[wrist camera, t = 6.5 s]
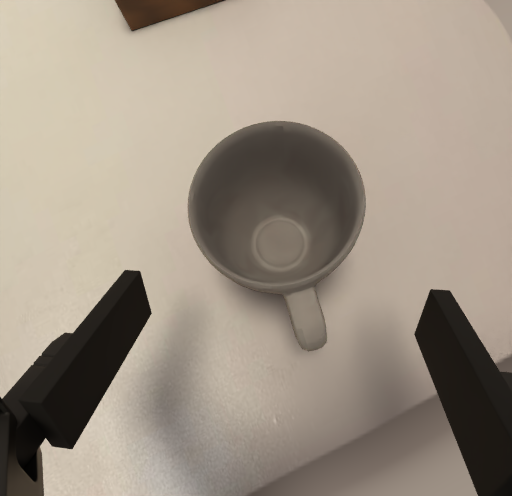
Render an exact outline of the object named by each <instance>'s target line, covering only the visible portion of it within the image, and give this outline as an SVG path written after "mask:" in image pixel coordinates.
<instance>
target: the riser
mask: <svg viewBox="0 0 512 496" xmlns="http://www.w3.org/2000/svg"><path fill="white" fill-rule="evenodd" d="M115 1H116V3H117V5H118V7H119V9H120V10H121V12H122V14H123V16H124V18H125V20H126V21H127V23H128V25H129V27H130V29H131V30H135V29H138V28H141V27H145V26H148V25H151V24H154V23H157V22H160V21H163V20H166V19H169V18H172V17H175V16H178V15H181V14H184V13H187V12H190V11H193V10H196V9H199V8H202V7H205V6H208V5H211V4H214V3H217V2H220V1H223V0H115Z"/></svg>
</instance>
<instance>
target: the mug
mask: <svg viewBox="0 0 512 496" xmlns="http://www.w3.org/2000/svg"><path fill="white" fill-rule="evenodd" d="M365 208H366V198H365V190H364V185H363V181H362V178H361V175H360V172H359V170H358V168H357V166H356V164H355V163H354V161H353V159H352V158H351V157H350V155H349V154H348V153H347V151H346V150H345V149H344V148H343V147H342V146H341V145H340V144H339V143H338V142H337V141H335V140H334V139H333V138H331V137H330V136H328V135H327V134H325V133H323V132H321V131H319V130H317V129H315V128H312V127H310V126H307V125H303V124H300V123H295V122H287V121H271V122H263V123H258V124H254V125H251V126H248V127H245V128H243V129H240V130H238V131H236V132H234V133H233V134H231V135H229V136H228V137H226V138H225V139H223V140H222V141H221V142H220V143H218V144H217V145H216V146H215V147H214V148H213V149H212V150H211V151H210V152H209V153H208V154H207V156H206V157H205V158H204V160H203V161H202V162H201V164H200V166H199V167H198V169H197V171H196V173H195V175H194V178H193V181H192V183H191V187H190V191H189V197H188V218H189V224H190V228H191V231H192V234H193V237H194V239H195V241H196V243H197V245H198V247H199V249H200V250H201V252H202V253H203V255H204V256H205V257H206V258H207V260H208V261H209V262H210V263H211V264H212V265H213V266H214V267H215V268H216V269H217V270H218V271H219V272H220V273H222V274H223V275H224V276H226V277H227V278H229V279H231V280H232V281H234V282H236V283H238V284H240V285H242V286H244V287H247V288H249V289H252V290H256V291H260V292H265V293H275V294H281V295H283V296H284V298H285V302H286V305H287V309H288V312H289V316H290V319H291V323H292V326H293V330H294V333H295V335H296V338H297V340H298V342H299V344H300V346H301V348H302V349H304V350H307V351H312V350H316V349H319V348H322V347H323V346H324V345H325V343H326V341H327V334H326V325H325V320H324V316H323V313H322V310H321V307H320V304H319V301H318V297H317V294H316V291H315V285H316V284H317V283H318V282H320V281H321V280H322V279H324V278H325V277H326V276H328V275H329V274H330V273H331V272H332V271H333V270H335V269H336V268H337V267H338V266H339V265H340V264H341V262H342V261H343V260H344V259H345V258H346V257H347V255H348V254H349V253H350V251H351V250H352V248H353V246H354V245H355V242H356V240H357V238H358V236H359V233H360V231H361V228H362V225H363V221H364V216H365Z"/></svg>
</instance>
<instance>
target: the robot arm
mask: <svg viewBox="0 0 512 496" xmlns="http://www.w3.org/2000/svg"><path fill="white" fill-rule="evenodd" d="M151 314H152V313H151V309H150V305H149V302H148V298H147V294H146V291H145V287H144V284H143V280H142V276H141V273H140V271H131V270H125V271H124V272H123V273H122V274H121V276H120V277H119V278H118V279H117V280H116V282H115V283H114V284H113V285H112V287H111V288H110V289H109V290H108V291H107V293H106V294H105V295H104V296H103V297H102V299H101V300H100V301H99V302H98V304H97V305H96V306H95V307H94V308H93V310H92V311H91V312H90V313H89V314H88V316H87V317H86V318H85V319H84V321H83V322H82V323H81V324H80V325H79V327H78V328H77V329H76V330H75V331H74V333H64V334H63V335H61V336H60V337H58V338H57V339H56V340H54V341H53V342H52V343H51V344H50V345H49V346H48V347H47V348H46V349H45V351H44V352H43V353H42V355H41V356H39V357H38V359H37V360H36V361H35V362H34V365H31V367H30V368H29V369H28V370H27V371H26V372H25V373H24V375H23V376H22V377H21V378H20V379H19V380H18V382H17V383H16V384H15V385H14V386H13V387H12V388H11V390H10V391H9V392H8V393H7V394H6V395H5V396H4V398H3V399H1V397H0V496H44V488H43V466H42V452H41V449H40V445H41V444H42V442H43V441H44V439H45V438H46V439H47V440H48V441H49V443H50V444H51V445H52V446H53V447H60V448H67V449H73V447H74V445H75V444H76V442H77V440H78V439H79V437H80V435H81V434H82V432H83V430H84V428H85V427H86V425H87V423H88V422H89V420H90V418H91V416H92V415H93V413H94V411H95V410H96V408H97V406H98V404H99V403H100V401H101V399H102V398H103V396H104V394H105V392H106V391H107V389H108V387H109V386H110V384H111V382H112V380H113V379H114V377H115V375H116V374H117V372H118V370H119V368H120V367H121V365H122V363H123V362H124V360H125V358H126V356H127V355H128V353H129V351H130V350H131V348H132V346H133V344H134V343H135V341H136V339H137V338H138V336H139V334H140V332H141V331H142V329H143V327H144V326H145V324H146V322H147V320H148V319H149V317H150V315H151ZM414 335H415V337H416V340H417V342H418V345H419V347H420V350H421V352H422V355H423V358H424V360H425V363H426V365H427V368H428V370H429V373H430V375H431V378H432V380H433V383H434V385H435V388H436V390H437V393H438V395H439V398H440V401H441V403H442V406H443V408H444V411H445V413H446V416H447V418H448V421H449V423H450V426H451V428H452V431H453V433H454V436H455V438H456V441H457V443H458V446H459V448H460V451H461V453H462V456H463V459H464V461H465V464H466V466H467V469H468V471H469V474H470V476H471V479H472V481H473V484H474V487H475V489H476V492H477V494H478V496H512V373H509V372H500V371H499V370H498V368H497V366H496V365H495V363H494V361H493V360H492V358H491V357H490V355H489V353H488V352H487V350H486V348H485V347H484V345H483V344H482V342H481V340H480V339H479V337H478V336H477V334H476V332H475V331H474V329H473V327H472V326H471V324H470V323H469V321H468V319H467V318H466V316H465V314H464V313H463V311H462V310H461V308H460V306H459V305H458V303H457V302H456V300H455V298H454V297H453V295H452V293H451V292H450V291H449V290H433V289H431V290H430V292H429V295H428V298H427V301H426V303H425V306H424V309H423V312H422V315H421V317H420V320H419V323H418V326H417V328H416V331H415V334H414Z"/></svg>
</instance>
